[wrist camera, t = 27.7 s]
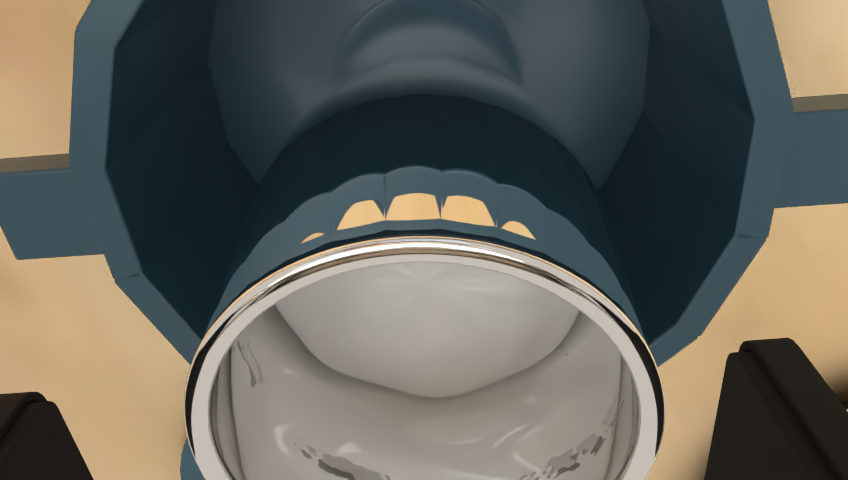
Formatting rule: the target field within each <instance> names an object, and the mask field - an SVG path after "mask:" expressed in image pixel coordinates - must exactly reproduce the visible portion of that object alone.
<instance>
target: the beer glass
mask: <svg viewBox="0 0 848 480" xmlns="http://www.w3.org/2000/svg"><path fill="white" fill-rule="evenodd" d="M184 421H185V428H186V433H187V438H188V441H189V445H190V448H191V451H192V454H193V456H194V458H195V461H196V463H197V465H198V467H199V469H200V471H201V473H202V475H203V476H204V478H205V480H645V479H646V478H647V476H648V474H649V472H650V470H651V468H652V466H653V464H654V462H655V459H656V457H657V454H658V451H659V448H660V444H661V440H662V436H663V431H664V422H665V401H664V392H663V386H662V381H661V377H660V374H659V371H658V367H657V365H656V362H655V360H654V358H653V355H652V353H651V351H650V349H649V347H648V345H647V342H646V338H645V335H644V332H643V328H642V324H641V320H640V317H639V313H638V309H637V305H636V301H635V298H634V294H633V290H632V287H631V284H630V280H629V277H628V274H627V270H626V267H625V264H624V260H623V257H622V254H621V251H620V248H619V245H618V242H617V240H616V237H615V234H614V232H613V229H612V226H611V224H610V221H609V219H608V216H607V213H606V211H605V208H604V205H603V203H602V200H601V198H600V196H599V194H598V192H597V190H596V188H595V186H594V184H593V183H592V181H591V179H590V177H589V175H588V173H587V171H586V169H585V168H584V166H583V164H582V162H581V160H580V158H579V156H578V155H577V153H576V151H575V150H574V148H573V147H572V145H571V144H570V142H569V141H568V140H567V138H566V137H565V136H564V135H563V133H562V132H561V131H560V130H559V129H558V127H557V126H556V125H555V124H554V123H553V121H552V120H551V119H550V118H549V117H548V115H547V114H546V113H545V112H544V111H543V110H542V108H541V107H540V106H539V105H538V104H537V103H536V102H534V101H533V100H532V99H531V98H530V97H529V96H528V95H527V94H526V93H525V92H524V91H523V74H522V67H521V62H520V58H519V54H518V52H517V49H516V47H515V45H514V43H513V41H512V39H511V37H510V36H509V34H508V32H507V31H506V29H505V28H504V27H503V26H502V24H501V23H500V22H499V21H498V20H497V19H496V18H495V17H494V16H493V15H492V14H491V13H490V12H489V11H488V10H487V9H485V8H484V7H482V6H481V5H479V4H478V3H476V2H474V1H472V0H385V1H383V2H381V3H379V4H378V5H376V6H375V7H373V8H372V9H371V10H369V11H368V12H367V13H366V14H364V15H363V16H362V17H361V18H360V19H359V20H358V21H357V23H356V24H355V25H354V26H353V28H352V29H351V30H350V32H349V33H348V35H347V37H346V38H345V40H344V42H343V44H342V47H341V49H340V52H339V55H338V58H337V63H336V68H335V78H334V89H333V90H332V91H330V92H329V93H328V94H327V95H326V96H325V97H324V98H322V99H321V100H320V101H319V102H318V103H317V104H316V105H315V106H314V107H313V108H312V109H311V110H310V112H309V113H308V114H307V115H306V116H305V117H304V118H303V120H302V121H301V122H300V123H299V124H298V125H297V126H296V128H295V129H294V130H293V131H292V132H291V133H290V134H289V136H288V137H287V138H286V140H285V141H284V142H283V144H282V145H281V147H280V148H279V150H278V151H277V153H276V155H275V156H274V158H273V160H272V162H271V163H270V165H269V167H268V169H267V170H266V172H265V174H264V176H263V177H262V179H261V181H260V183H259V185H258V186H257V188H256V190H255V192H254V194H253V197H252V199H251V201H250V203H249V206H248V208H247V211H246V213H245V216H244V218H243V220H242V223H241V225H240V228H239V230H238V232H237V235H236V237H235V240H234V242H233V245H232V248H231V251H230V254H229V257H228V260H227V263H226V266H225V269H224V272H223V275H222V279H221V282H220V285H219V288H218V291H217V295H216V298H215V301H214V305H213V308H212V312H211V315H210V319H209V322H208V325H207V329H206V332H205V335H204V338H203V340H202V342H201V344H200V346H199V348H198V350H197V352H196V354H195V356H194V359H193V361H192V364H191V367H190V370H189V373H188V377H187V381H186V387H185V395H184Z"/></svg>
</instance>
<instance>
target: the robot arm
mask: <svg viewBox="0 0 848 480" xmlns="http://www.w3.org/2000/svg"><path fill="white" fill-rule="evenodd" d="M0 480H93V478H92V476H91V474H90V472H89V470H88V468H87V466H86V463H85V461H84V459H83V457H82V455H81V453H80V451H79V449H78V447H77V445H76V443H75V441H74V439H73V437H72V435H71V433H70V431H69V429H68V427H67V425H66V423H65V421H64V419H63V417H62V415H61V413H60V411H59V409H58V407H57V406H56V404H55V403H53V402H51V401H47V400H46V399H45V397H44V396H43V395H42V394H40V393H39V392H24V393H10V394H0ZM704 480H848V411H847V410H846V409H845V407H844V406H843V405H842V403H841V402H840V401H839V399H838V398H837V397H836V395H835V394H834V393H833V391H832V390H831V389H830V387H829V386H828V385H827V383H826V382H825V381H824V379H823V378H822V377H821V375H820V374H819V373H818V371H817V370H816V369H815V367H814V366H813V365H812V363H811V362H810V361H809V359H808V358H807V357H806V355H805V354H804V353H803V351H802V350H801V349H800V347H799V346H798V345H797V344H796V343H795V342H794V341H793V340H792V339H789V338H779V339H765V340H751V341H745V342H743V343H742V344H741V346H740V349H739V352H735V353H730V354H729V355H728V358H727V361H726V366H725V372H724V377H723V383H722V388H721V393H720V399H719V404H718V409H717V415H716V420H715V426H714V431H713V436H712V442H711V447H710V452H709V458H708V463H707V468H706V474H705V479H704Z"/></svg>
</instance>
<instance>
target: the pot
mask: <svg viewBox="0 0 848 480" xmlns="http://www.w3.org/2000/svg"><path fill="white" fill-rule="evenodd" d="M383 1H385V0H91V2H90V4H89V5H88V7H87V9H86V11H85V12H84V14H83V16H82V18H81V20H80V21H79V23H78V25H77V28H76V29H77V30H75V40H74V61H73V82H72V104H71V125H70V146H69V154H57V155H44V156H31V157H18V158H5V159H0V226H1V228H2V230H3V232H4V234H5V237H6V239H7V241H8V243H9V245H10V247H11V249H12V251H13V253H14V256H15V258H16V259H18V260H24V259H38V258H53V257H68V256H82V255H97V254H104V255H105V258H106V260H107V263H108V265H109V268H110V271H111V273H112V276H113V278H114V279H115V283H116V284H117V285H118V286H119V287H120V289H121V290H122V291H123V292H124V293H125V294H126V295H127V296H128V297H129V298H130V300H131V301H132V302H133V303H134V304H135V305H136V306H137V307H138V308H139V309H140V310H141V312H142V313H143V314H144V315H145V316H146V317H147V318H148V319H149V320H150V321H151V322H152V324H153V325H154V326H155V327H156V328H157V329H158V330H159V331H160V332H161V333H162V334H163V336H164V337H165V338H166V339H167V340H168V341H169V342H170V343H171V344H172V345H173V347H174V348H175V349H176V350H177V351H178V352H179V353H180V354H181V355H182V356H183V357H184V359H185V360H186V361H187V362H188V363H189V364H190V365H191V364H192V361H193V359H194V356H195V354H196V352H197V350H198V348H199V346H200V344H201V342H202V340H203V338H204V335H205V332H206V329H207V325H208V322H209V319H210V315H211V312H212V308H213V305H214V301H215V298H216V295H217V291H218V288H219V285H220V282H221V279H222V275H223V272H224V269H225V266H226V263H227V260H228V257H229V254H230V251H231V248H232V245H233V242H234V240H235V237H236V235H237V232H238V230H239V228H240V225H241V223H242V220H243V218H244V216H245V213H246V211H247V208H248V206H249V203H250V201H251V199H252V197H253V194H254V192H255V190H256V188H257V186H258V185H259V183H260V181H261V179H262V177H263V176H264V174H265V172H266V170H267V169H268V167H269V165H270V163H271V162H272V160H273V158H274V156H275V155H276V153H277V151H278V150H279V148H280V147H281V145H282V144H283V142H284V141H285V140H286V138H287V137H288V136H289V134H290V133H291V132H292V131H293V130H294V129H295V128H296V126H297V125H298V124H299V123H300V122H301V121H302V120H303V118H304V117H305V116H306V115H307V114H308V113H309V112H310V110H311V109H312V108H313V107H314V106H315V105H316V104H317V103H318V102H319V101H320V100H321V99H322V98H324V97H325V96H326V95H327V94H328V93H329V92H330V91H332V90H333V89H334V78H335V68H336V63H337V58H338V55H339V52H340V49H341V47H342V44H343V42H344V40H345V38H346V37H347V35H348V33H349V32H350V30H351V29H352V28H353V26H354V25H355V24H356V23H357V21H358V20H359V19H360V18H361V17H362V16H363V15H364V14H366V13H367V12H368V11H369V10H371V9H372V8H373V7H375V6H376V5H378V4H379V3H381V2H383ZM472 1H474V2H476V3H478V4H479V5H481V6H482V7H484V8H485V9H487V10H488V11H489V12H490V13H491V14H492V15H493V16H494V17H495V18H496V19H497V20H498V21H499V22H500V23H501V24H502V26H503V27H504V28H505V29H506V31H507V32H508V34H509V36H510V37H511V39H512V41H513V43H514V45H515V47H516V49H517V52H518V54H519V58H520V62H521V67H522V74H523V91H524V92H525V93H526V94H527V95H528V96H529V97H530V98H531V99H532V100H533V101H534V102H536V103H537V104H538V105H539V106H540V107H541V108H542V110H543V111H544V112H545V113H546V114H547V115H548V117H549V118H550V119H551V120H552V121H553V123H554V124H555V125H556V126H557V127H558V129H559V130H560V131H561V132H562V133H563V135H564V136H565V137H566V138H567V140H568V141H569V142H570V144H571V145H572V147H573V148H574V150H575V151H576V153H577V155H578V156H579V158H580V160H581V162H582V164H583V166H584V168H585V169H586V171H587V173H588V175H589V177H590V179H591V181H592V183H593V184H594V186H595V188H596V190H597V192H598V194H599V196H600V198H601V200H602V203H603V205H604V208H605V211H606V213H607V216H608V219H609V221H610V224H611V226H612V229H613V232H614V234H615V237H616V240H617V242H618V245H619V248H620V251H621V254H622V257H623V260H624V264H625V267H626V270H627V274H628V277H629V280H630V284H631V287H632V290H633V294H634V298H635V301H636V305H637V309H638V313H639V317H640V320H641V324H642V328H643V332H644V335H645V338H646V342H647V345H648V347H649V349H650V351H651V353H652V355H653V358H654V360H655V362H656V365H657V367H659V366H660V365H662V364H663V363H664V362H666V361H667V360H668V359H670V358H671V357H672V356H674V355H675V354H677V353H678V352H679V351H681V350H682V349H683V348H685V347H686V346H687V345H689V344H690V343H692V342H693V341H694V340H696V339H697V338H698V336H700V335H702V333H703V332H704V330H705V329H706V327H707V326H708V324H709V323H710V321H711V320H712V319H713V317H714V316H715V314H716V313H717V311H718V310H719V308H720V307H721V305H722V304H723V302H724V301H725V299H726V298H727V297H728V295H729V294H730V292H731V291H732V289H733V288H734V286H735V285H736V283H737V282H738V280H739V279H740V277H741V276H742V275H743V273H744V272H745V270H746V269H747V267H748V266H749V264H750V263H751V261H752V260H753V258H754V257H755V255H756V254H757V253H758V251H759V250H760V248H761V247H762V245H763V244H764V242H765V241H766V238H767V237H768V235H769V230H770V226H771V221H772V216H773V211H774V208H782V207H797V206H811V205H826V204H841V203H848V94H837V95H824V96H811V97H798V98H791V95H790V90H789V86H788V82H787V78H786V74H785V70H784V66H783V62H782V58H781V54H780V50H779V46H778V42H777V38H776V34H775V30H774V26H773V22H772V18H771V14H770V10H769V6H768V1H767V0H472Z"/></svg>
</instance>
